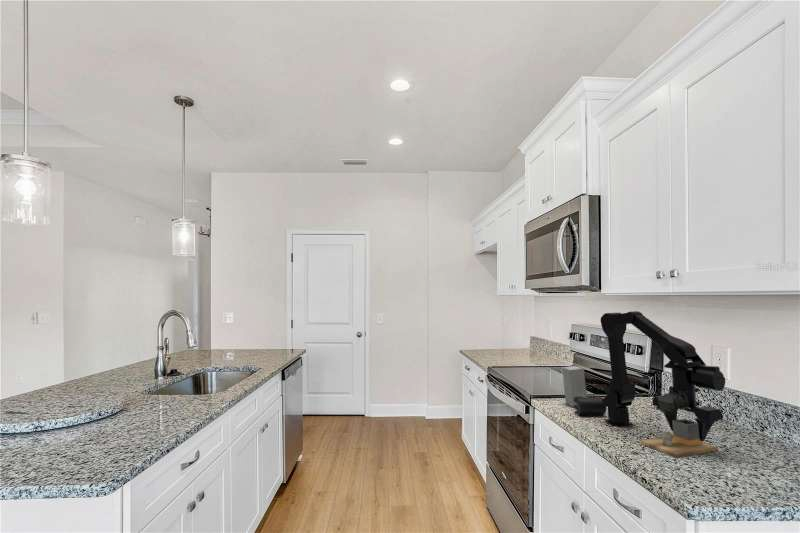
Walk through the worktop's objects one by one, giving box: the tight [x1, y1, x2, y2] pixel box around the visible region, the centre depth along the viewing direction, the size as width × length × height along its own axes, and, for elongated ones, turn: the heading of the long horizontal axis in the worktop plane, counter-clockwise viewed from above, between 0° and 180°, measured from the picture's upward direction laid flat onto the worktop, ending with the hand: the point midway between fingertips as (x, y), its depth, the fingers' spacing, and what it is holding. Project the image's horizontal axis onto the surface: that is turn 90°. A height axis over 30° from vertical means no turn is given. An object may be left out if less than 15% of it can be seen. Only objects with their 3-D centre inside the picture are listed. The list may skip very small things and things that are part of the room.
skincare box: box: [561, 365, 588, 408], centre depth 172 cm, size 8×7×16 cm
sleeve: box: [672, 418, 703, 446], centre depth 125 cm, size 5×5×6 cm
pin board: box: [639, 431, 719, 459], centre depth 123 cm, size 12×16×4 cm
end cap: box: [573, 395, 608, 416], centre depth 158 cm, size 10×7×7 cm
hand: (687, 435), depth 125 cm, fingers open, 9 cm apart
